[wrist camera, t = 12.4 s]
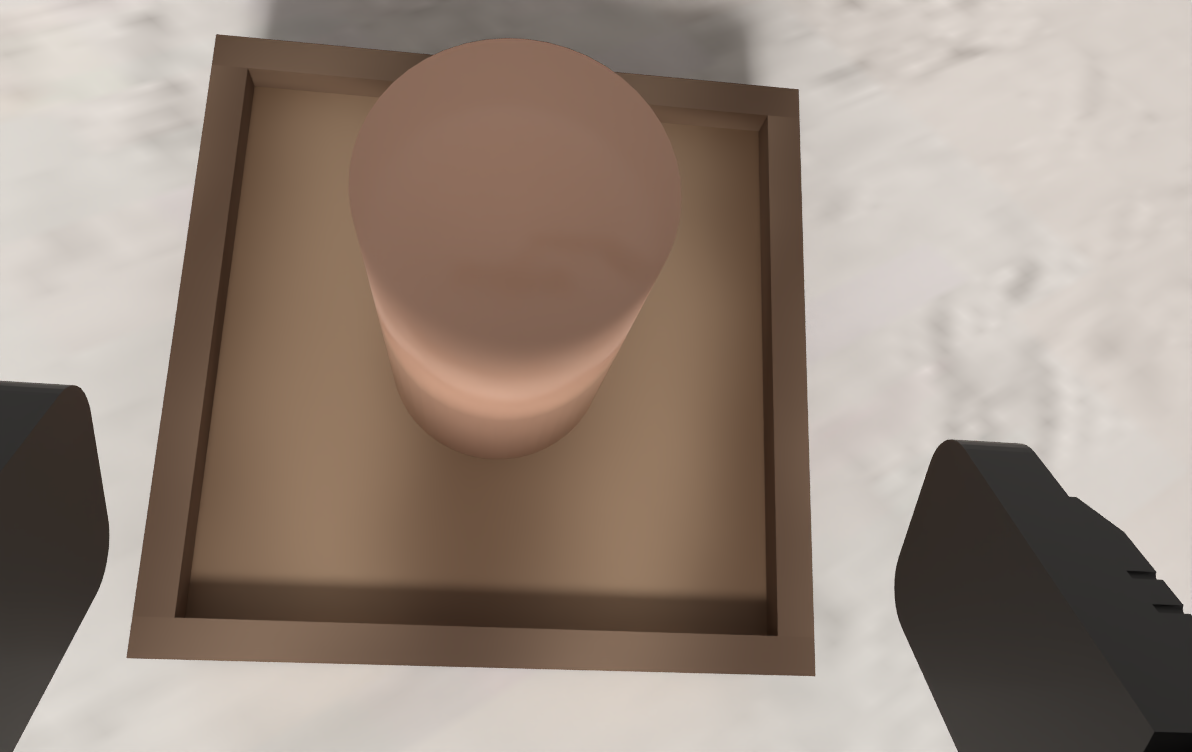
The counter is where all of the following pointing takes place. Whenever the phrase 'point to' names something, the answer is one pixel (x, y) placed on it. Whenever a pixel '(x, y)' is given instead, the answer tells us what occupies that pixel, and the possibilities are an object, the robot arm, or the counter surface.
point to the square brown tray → (461, 482)
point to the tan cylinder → (509, 236)
